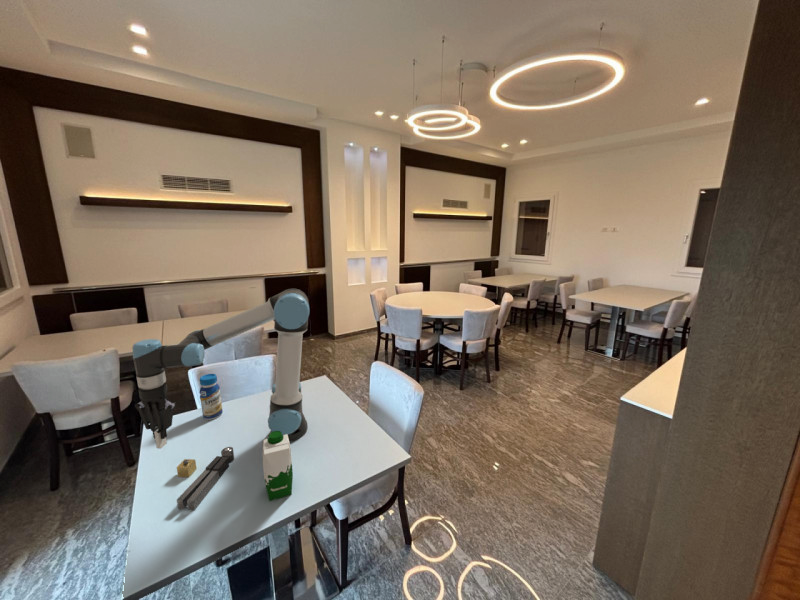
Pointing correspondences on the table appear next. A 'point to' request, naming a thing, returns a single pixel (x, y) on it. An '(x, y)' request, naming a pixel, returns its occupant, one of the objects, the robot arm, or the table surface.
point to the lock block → (186, 468)
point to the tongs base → (211, 478)
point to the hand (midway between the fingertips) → (161, 445)
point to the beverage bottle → (210, 397)
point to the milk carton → (277, 465)
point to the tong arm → (196, 484)
